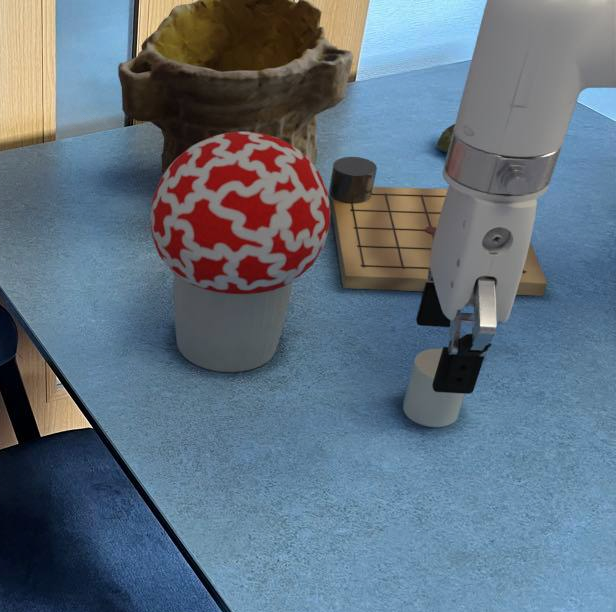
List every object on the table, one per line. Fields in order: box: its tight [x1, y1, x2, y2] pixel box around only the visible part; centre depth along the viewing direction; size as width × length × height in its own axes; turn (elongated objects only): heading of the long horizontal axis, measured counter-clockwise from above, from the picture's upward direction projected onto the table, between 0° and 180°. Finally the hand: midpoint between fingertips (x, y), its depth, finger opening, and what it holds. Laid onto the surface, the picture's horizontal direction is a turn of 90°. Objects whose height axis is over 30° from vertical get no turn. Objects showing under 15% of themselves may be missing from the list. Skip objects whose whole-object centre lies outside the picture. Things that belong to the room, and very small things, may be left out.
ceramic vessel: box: [117, 0, 354, 175], centre depth 113 cm, size 23×24×25 cm
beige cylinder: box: [402, 347, 466, 428], centre depth 90 cm, size 5×5×5 cm
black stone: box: [328, 156, 378, 203], centre depth 116 cm, size 5×5×3 cm
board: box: [328, 186, 548, 297], centre depth 112 cm, size 20×20×2 cm
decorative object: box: [149, 132, 331, 373], centre depth 92 cm, size 16×16×20 cm
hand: (442, 356), depth 87 cm, fingers open, 9 cm apart
